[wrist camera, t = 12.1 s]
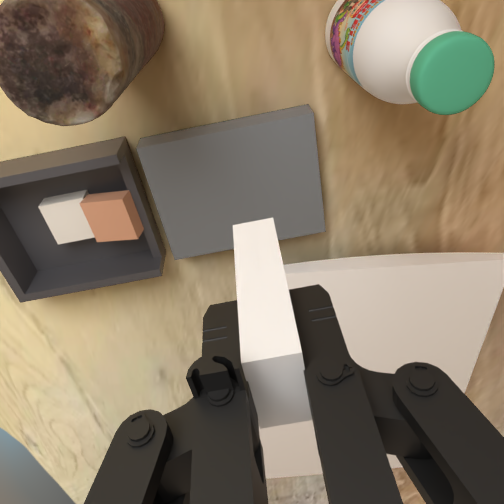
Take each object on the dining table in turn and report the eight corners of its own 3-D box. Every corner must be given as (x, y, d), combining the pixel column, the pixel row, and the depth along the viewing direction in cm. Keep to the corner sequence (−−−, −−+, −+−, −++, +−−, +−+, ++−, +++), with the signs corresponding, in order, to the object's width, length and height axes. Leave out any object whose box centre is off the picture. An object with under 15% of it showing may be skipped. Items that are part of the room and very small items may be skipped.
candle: (64, 21, 40) (-42, 68, 24) (109, -51, 38) (25, -53, 21) (134, 79, 43) (84, 157, 27) (181, 18, 41) (157, 62, 24)
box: (-29, 167, 47) (-53, 188, 43) (125, 136, 47) (116, 154, 42) (34, 276, 56) (20, 302, 52) (166, 251, 55) (162, 275, 51)
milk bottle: (419, 8, 42) (554, 44, 25) (372, 85, 45) (462, 160, 29) (352, -36, 39) (451, -27, 23) (308, 49, 43) (365, 109, 26)
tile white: (44, 198, 49) (38, 206, 48) (87, 189, 49) (82, 197, 47) (62, 235, 52) (57, 244, 50) (103, 227, 52) (100, 236, 50)
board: (248, 254, 56) (250, 276, 53) (494, 238, 58) (514, 258, 54) (257, 454, 82) (259, 479, 78) (427, 440, 83) (438, 464, 79)
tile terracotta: (87, 194, 48) (79, 203, 47) (129, 190, 47) (122, 199, 46) (104, 232, 51) (97, 242, 50) (144, 229, 50) (137, 239, 48)
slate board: (140, 138, 47) (136, 148, 44) (308, 104, 46) (313, 112, 43) (176, 246, 55) (174, 260, 52) (320, 218, 54) (325, 231, 51)
